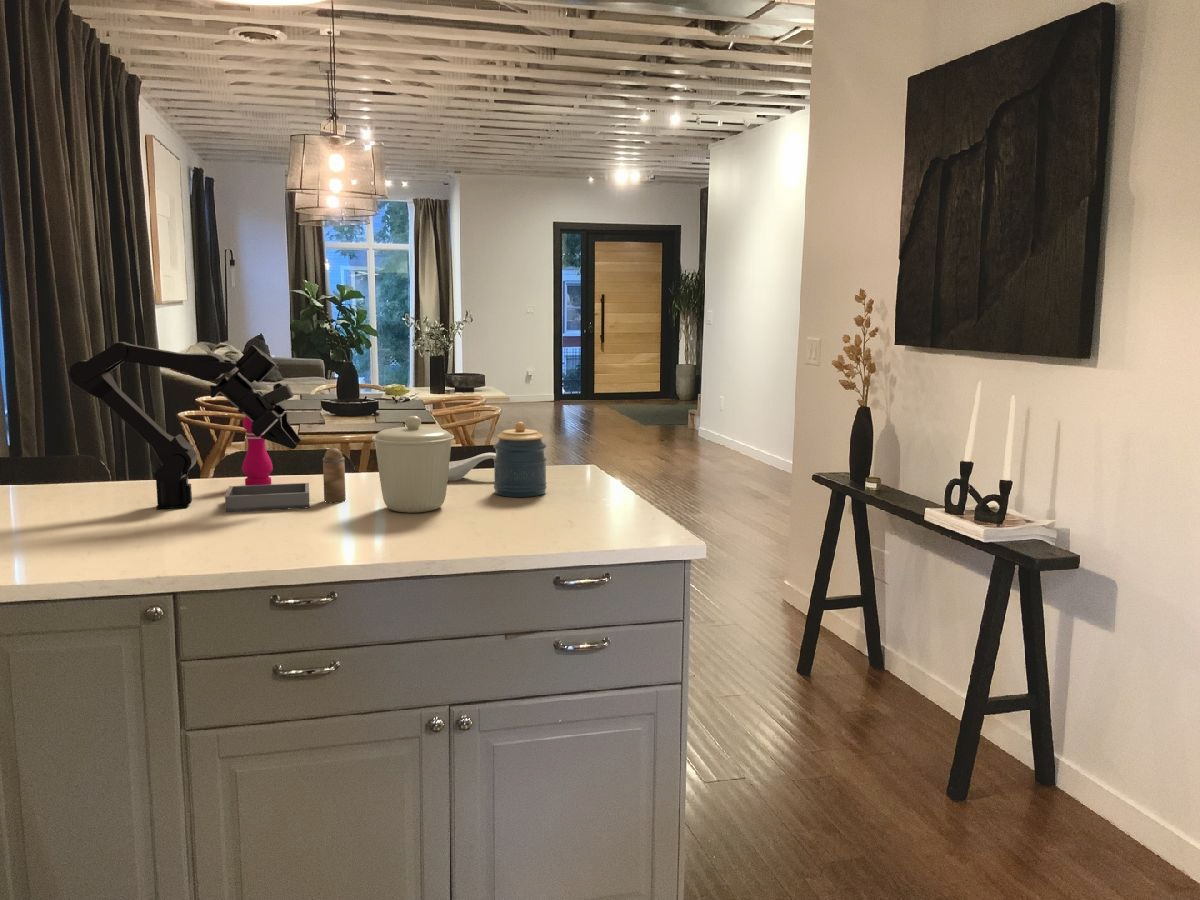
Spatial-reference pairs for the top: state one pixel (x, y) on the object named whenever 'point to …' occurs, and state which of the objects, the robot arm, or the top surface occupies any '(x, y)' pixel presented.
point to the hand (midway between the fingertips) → (297, 444)
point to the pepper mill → (256, 458)
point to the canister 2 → (520, 463)
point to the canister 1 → (413, 466)
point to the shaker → (334, 476)
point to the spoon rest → (466, 466)
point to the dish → (267, 497)
